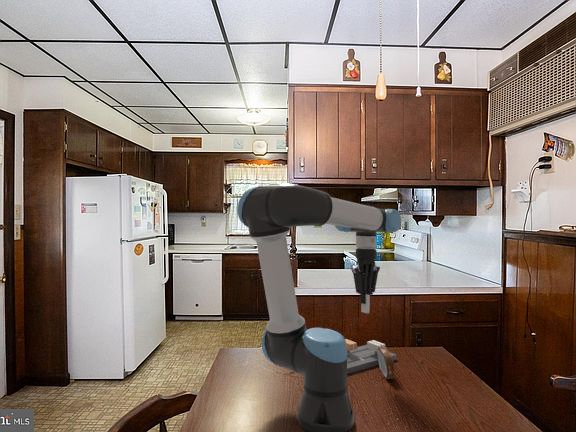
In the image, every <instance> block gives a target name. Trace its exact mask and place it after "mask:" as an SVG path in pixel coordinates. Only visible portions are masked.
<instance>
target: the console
mask: <svg viewBox="0 0 576 432" xmlns="http://www.w3.org/2000/svg"><path fill="white" fill-rule="evenodd" d="M389 353H390V354H391V356H392V359H393V362H394V361H397V360H398V359H397V354H395V353H393V352H390V351H389ZM377 366H379V362H378V352H377V355H375V351H374V350H371V349H369V348H367V344H364V345H362V346H361V345H360V346H357V349H356V350H352V351H350V353H348V356H347V375H348V374H352V373H356V372H359V371H362V370H366V369H370V368H373V367H377Z"/></svg>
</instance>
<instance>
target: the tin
mask: <svg viewBox="0 0 576 432" xmlns="http://www.w3.org/2000/svg"><path fill="white" fill-rule="evenodd" d="M389 352H390V351H389V350H388V348H387V346H385V347H378V362H379V365H378V366H379V369H380V371H381V374H382V376H383V377H384V378H385V380H394V379H395V365H394V361H393V359H392V356H391V354H390V353H389Z"/></svg>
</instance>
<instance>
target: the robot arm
mask: <svg viewBox="0 0 576 432" xmlns="http://www.w3.org/2000/svg"><path fill="white" fill-rule="evenodd" d="M237 216H238V219H239V221H240V223H241V224H243V225H244V226H245V227H246V228H247V229H248V233H249V237H250V238H251V239H252V240H254V241H255V243H256V248H257V252H258V259H259V264H260V269H261V276H262V281H263V288H264V292H265V293H264V294H265V299H266V306H267V311H268V315H269V316H268V317H269V320H268V322H266V325H265V330H264V331H263V337H262V338H261V350H262V353H263V355H264V357H265V358H266V359H267V360H268V361H269V362H270V363H272V364H274V365H275V366H278V367H279V368H284V369H287V370H290V371H291V372H294V373H297V374H300V375H302V376H303V392H302V396H301V398H300V403H299V406H298V408H297V423H298V426H300V427H301V428H302V429H303V430H305V431H306V432H348V431H350V430H351V429H352V428H353V426H354V425H355V414H354V410H353V406H352V403H351V400H350V397H349V394H348V374H347V356H348V353H347V345H346V340H345V339H346V338H345V336H343V335H342V334H341V333H340V332H339V331H336V330H333V329H330V328H323V327H311V328H309V329H307V325H306V324H307V323H306V320H305V318H304V317H303V316H302V315H301V314H299V308H298V302H297V294H296V290H295V289H296V288H295V284H294V283H295V282H294V278H293V270H292V265H291V259H290V254H289V248H288V240H287V236H288V233H290V231H291V228H294V227H303V226H304V227H306V226H307V227H310V226H312V227H322V226H325V225H332V226H334V227H335V228H336V230H338V231H340V232H344V233H349V232H350V233H355V247H356V248H355V258H356V263H355V266H354V267H351V268H350V270H351V272H352V275H353V281H354V287H355V292H356V294H358V295H360V297H359V298H360V304H361V306H360V308H361V309H360V310H361V311H360V312H361V313H364V314H370V304H371V296H373V295H374V293H375V292H376V287H377V286H376V285H377V282H378V275H379V272H380V269H381V267H380V266H378V265H377V264H376V259H377V233H388V234H389V233H396V232H398V231H399V230H400V228H401V225H402V216H401V214H400V212H399V211H398V210H397V209H394V208H393V209H392V208H385V209H384V208H379V207H375V206H373V205H371V206H369V205H365V204H362V203H361V204H360V203H357V202H353V201H349V200H344V199H342V198H341V199H340V198H336V197H332V196H331V195H330V194H329V193H328V192H326V191H324V190H318V189H315V188H312V187H308V186H304V185H299V184H294V183H280V184H271V185H258V186H256V187H251V188H249V189H247V190H245V191H244V192H243V193H242V195H241V197H240V198H239V201H238V204H237Z"/></svg>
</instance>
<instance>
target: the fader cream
mask: <svg viewBox="0 0 576 432" xmlns="http://www.w3.org/2000/svg"><path fill="white" fill-rule="evenodd" d="M366 345H367V348H369V349H371V350H374V351H375V355H377V352H378V347H386V344H385V343H382V342H380V341H377V340H374V339H372V340H368V341H366Z"/></svg>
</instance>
